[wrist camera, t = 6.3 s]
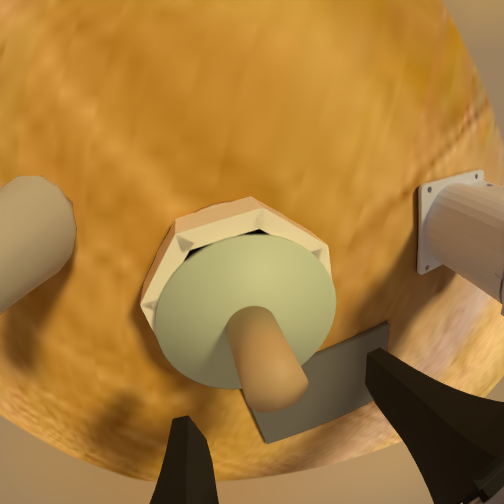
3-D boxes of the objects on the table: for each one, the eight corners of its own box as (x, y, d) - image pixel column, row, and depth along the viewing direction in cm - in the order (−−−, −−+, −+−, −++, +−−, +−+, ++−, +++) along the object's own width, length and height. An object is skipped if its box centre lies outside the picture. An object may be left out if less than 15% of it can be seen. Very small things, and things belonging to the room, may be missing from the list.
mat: (387, 321, 25) (389, 323, 24) (378, 395, 30) (380, 397, 29) (239, 379, 23) (240, 382, 22) (266, 441, 28) (267, 444, 28)
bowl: (297, 180, 18) (320, 191, 15) (318, 317, 22) (336, 342, 19) (126, 232, 16) (116, 253, 13) (185, 361, 21) (188, 392, 18)
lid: (337, 223, 16) (402, 266, 11) (323, 363, 20) (359, 420, 15) (137, 249, 14) (118, 315, 9) (176, 392, 18) (184, 463, 13)
